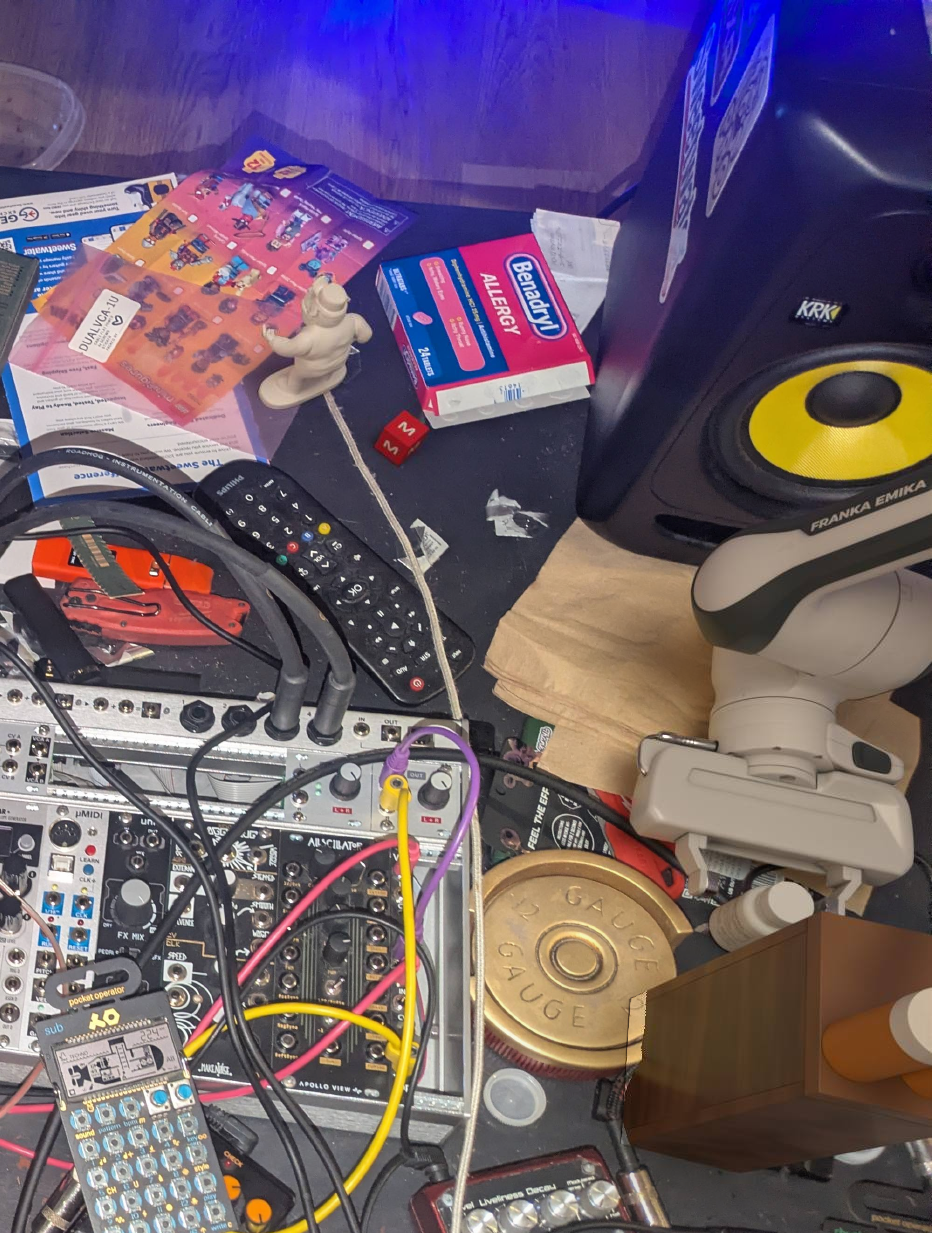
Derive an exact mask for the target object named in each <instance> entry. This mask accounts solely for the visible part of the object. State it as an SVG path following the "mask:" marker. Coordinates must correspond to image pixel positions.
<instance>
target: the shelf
mask: <svg viewBox="0 0 932 1233" xmlns="http://www.w3.org/2000/svg"><path fill="white" fill-rule="evenodd" d="M927 988H932V934H929V933H925V932H921V931H915V930H911V929H906V928H903V927H898V926H895V925H889V924H884V923H879V922H875V921H870V920H865V919H863V918H862V919H861V918H857V917H854V916H853V917H852V916H848V915H845V916H844V915H839V914H834V913H830V912H825V911H820V912H818V913H815V914H814V913H813V914H812V915H811V916H809V917H808V929H807V982H806V1036H805V1089H804V1096H806V1097H810V1098H814V1099H818V1100H822V1101H826V1102H831V1103H835V1104H839V1105H843V1106H848V1107H852V1108H856V1109H860V1110H864V1111H869V1112H873V1113H877V1114H881V1115H886V1116H890V1117H894V1118H898V1119H902V1120H907V1121H911V1122H915V1123H919V1124H923V1125H928V1126H932V1100H931V1099H928V1098H925V1097H923V1096H921V1095H919V1094H918V1093H916V1092H915V1091H913V1090H912V1089H911V1088H910V1087H909V1086H908V1085H907V1084H906V1082H905V1081H904V1080H903V1078H902V1076H901V1075H898V1076H894V1077H890V1078H886V1079H882V1080H878V1081H874V1082H870V1083H860V1082H855V1081H852V1080H849V1079H847V1078H845V1077H843V1076H842V1075H840V1074H839V1073H837V1072H836V1071H835V1070H834V1069H833V1068H832V1067H831V1065H830V1064H829V1063H828V1061H827V1060H826V1058H825V1055H824V1053H823V1049H822V1038H823V1034H824V1032H825V1030H826V1029H827V1027H828V1026H829V1025H830V1024H831V1023H833V1022H835V1021H837V1020H839V1019H842V1018H845V1017H848V1016H851V1015H854V1014H858V1013H861V1012H864V1011H867V1010H870V1009H873V1008H876V1007H879V1006H882V1005H885V1004H888V1003H891V1002H894V1001H897V1000H899V999H901V998H902V997H904V996H906V995H909V994H912V993H915V992H918V991H921V990H924V989H927Z"/></svg>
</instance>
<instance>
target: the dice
mask: <svg viewBox="0 0 932 1233" xmlns="http://www.w3.org/2000/svg"><path fill="white" fill-rule="evenodd" d="M429 431H430V427H428V426H427V425H425V424H424V423H422V422H421V421H420V420H419V419H418V418H417V417H415V416H414V415H412V414H411V413H409V412H408V411H406V410H405V409H404V410H403V411H402V412H400V414H399V415H397V416H396V417H395V418H394V419H392V421H390V422H389V423H388V424H387V425H385V427H383V429H382V431H381V433H380V435H379V437H378V438H377V441H376V443H375V444H374V446H373V447H374V449H375V450H377V451H378V452H379V453H380V454H382V455H383V456H384V457H385V458H387V459H388V460H390V461H391V462H392V463H393V464H395V465H396V466H397V467H400V465H402V464H403V463H404V462H405V461H406V460H407V459H408V458H410V457H411V456H412V455H413V454H415V452H416V451H418V450H419V448H420V447H421V445H422V443H423V441H424V440H425V438H426V436H427V435H428V433H429Z"/></svg>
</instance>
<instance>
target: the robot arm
mask: <svg viewBox="0 0 932 1233" xmlns="http://www.w3.org/2000/svg"><path fill="white" fill-rule="evenodd" d="M929 560H932V463H931V464H929V465H926V466H924V467H921V468H918V469H916V470H913V471H911V472H908V473H906V474H904V475H901V476H898V477H896V478H893V479H891V480H889V481H886V482H883V483H880V484H879V485H876V486H873V487H871V488H869V489H866V490H864V491H861V492H858V493H856V494H853V495H851V496H848V497H846V498H844V499H841V500H838V501H836V502H834V503H831V504H828V505H826V506H824V507H822V508H818V509H816V510H814V511H811V512H807V513H805V514H802V515H798V516H794V517H788V518H777V519H769V520H764V521H761V522H758V523H755V524H753V525H752V524H751V525H750V526H747V527H745V528H742V529H741V530H739V531H737V532H735V533H733V534H732V535H730V536H729V537H727V538H725V539H723V541H721V542H720V543H719V544H717V545H716V546H715V547H713V548H712V549H711V550H710V552H709V553H707V555H706V556H705V557H704V558H703V560H702V561H701V562H700V564H699V565H698V568H697V569H696V571H695V574H694V576H693V578H692V582H691V586H690V601H691V602H690V603H691V609H692V612H693V616H694V618H695V621H696V624H697V626H698V628H699V630H700V632H701V634H702V635H703V637H704V639H705V641H707V643H708V644H710V645H711V646H713V647H712V657H711V672H710V673H711V675H710V677H711V678H710V679H711V684H712V687H713V690H714V693H715V699H714V702H713V703H714V704H713V706H712V708H711V710H710V713H709V718H708V734H707V735H708V736H707V738H702V737H698V736H697V737H696V736H687V735H681V734H677V733H676V732H673V731H667V730H660V731H659V730H658V732H657V733H653V734H649V735H646V736H644V737H643V738H642V739H641V740H640V741H639V743H638V745H637V750H636V767H637V770H638V772H639V774H638V778H637V780H636V784H635V787H634V792H633V796H632V801H631V806H630V811H629V812H630V813H629V824H630V825H631V827H632V828H633V830H634V831H635V832H636V834H637V835H639V836H641V837H644V838H649V839H654V840H658V841H663V842H668V843H672V844H675V845H674V847H675V848H674V855H675V857H676V859H677V861H678V862H679V864H680V866H681V867H682V869H683V871H684V872H685V874H686V876H688V882H687V883H688V884H687V885H688V886H687V894H688V896H693V897H697V898H701V899H706V900H710V899H711V898H712V897H715V896H717V895H718V893H719V891H720V885H719V884H718V883H719V882H720V873H719V872H715V871H711V870H710V869H709V867H708V865H707V863H706V861H705V859H704V857H703V854H702V852H703V851H704V850H705V851H708V852H712V853H713V852H714V853H718V854H723V855H726V856H732V857H737V858H742V859H746V860H749V861H751V860H752V861H755V862H758V863H759V862H760V863H764V864H768V865H772V866H773V865H774V866H779V867H783V868H787V869H791V870H797V871H801V872H806V873H809V874H810V873H811V874H813V875H814V874H815V875H818V876H819V875H820V876H824V877H826V887H827V888H829V889H833V891H831V893H830V894H829V896H825V897H822V898H820V900H816V901H813V902H814V912H813V914H815V913H818V912H820V911H825V912H830V913H834V914H839V915H844V916H846V902H848V900H849V899H850V898H851V897H852V896H853V895H854V893H855V892H856V891H857V890H858V889H859V888H860V886H861V885H865V886H870V887H875V888H876V887H882V886H885V885H887V884H889V883H891V882H893V881H896V880H898V879H899V878H901V877H903V876H904V875H905V874H907V873H908V872H909V871H910V870H911V869H912V867H913V865H914V860H915V858H914V857H915V843H914V830H913V820H912V813H911V809H910V805H909V802H908V800H907V798H906V797H905V794H904V793H903V792H902V791H901V790H900V789H898V788H897V787H896V786H895V785H896V784H897V783H899V782H900V781H901V780H902V779H903V778H904V776H905V763H904V761H903V760H902V758H900V757H899V756H897V755H896V754H894V753H891V752H890V751H888V750H886V749H883V748H881V747H879V746H877V745H874V743H870V742H868V741H867V740H865V739H863V738H861V737H859V736H858V735H856V734H854V733H852V732H851V731H849V730H848V729H846V728H845V727H843V726H842V725H839V724H837V716H836V710H837V707H838V706H839V705H840V704H841V703H842V702H844V701H849V702H850V701H851V702H853V701H862V700H867V699H870V698H874V697H877V696H880V695H883V694H884V695H885V694H887V693H890V692H894V691H896V690H899V689H901V688H904V687H907V686H909V685H912V684H913V683H915V682H918V681H920V680H921V679H922V678H924V677H926V676H928V675H929V674H930V673H931V672H932V578H930V577H928V576H926V575H923V574H920V573H918V572H915V571H913V570H910V569H907V567H909V566H913V565H916V564H919V563H921V562H925V561H929Z"/></svg>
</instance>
